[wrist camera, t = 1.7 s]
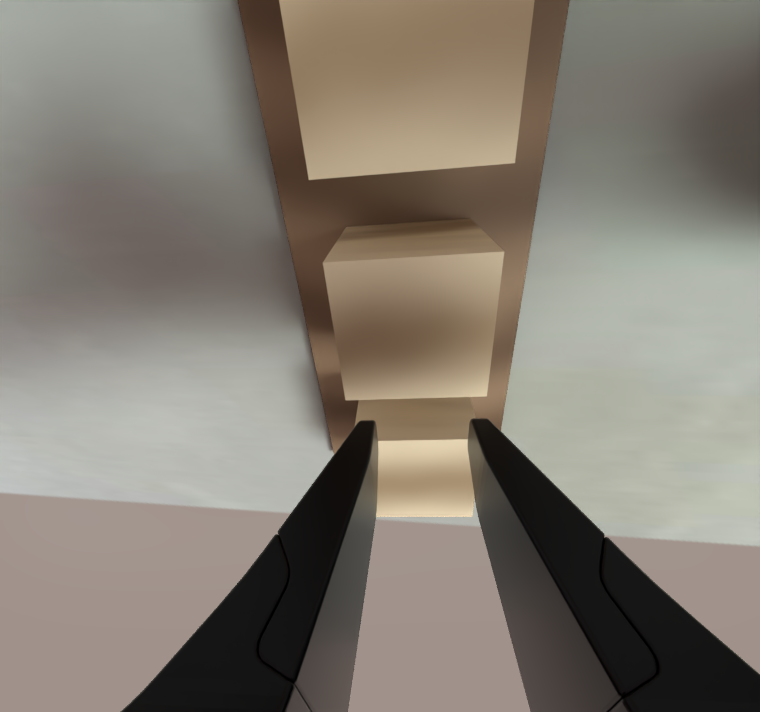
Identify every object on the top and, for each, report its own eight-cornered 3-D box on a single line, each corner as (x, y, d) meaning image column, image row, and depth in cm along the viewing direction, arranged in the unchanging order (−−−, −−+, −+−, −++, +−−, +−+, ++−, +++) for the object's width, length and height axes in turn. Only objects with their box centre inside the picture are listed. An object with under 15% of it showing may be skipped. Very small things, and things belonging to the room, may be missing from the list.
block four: (361, 369, 21) (349, 441, 16) (460, 366, 20) (481, 439, 15) (369, 438, 24) (362, 516, 19) (456, 436, 23) (472, 516, 18)
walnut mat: (105, -694, 7) (67, -804, 6) (689, -874, 6) (734, -1030, 6) (337, 450, 26) (335, 460, 25) (492, 447, 25) (496, 458, 24)
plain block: (346, 227, 16) (322, 262, 11) (470, 218, 16) (504, 251, 11) (359, 334, 20) (345, 400, 14) (463, 330, 19) (486, 396, 14)
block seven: (311, -23, 12) (246, -149, 7) (487, -46, 11) (558, -201, 6) (335, 169, 15) (303, 180, 10) (474, 158, 15) (514, 163, 9)
